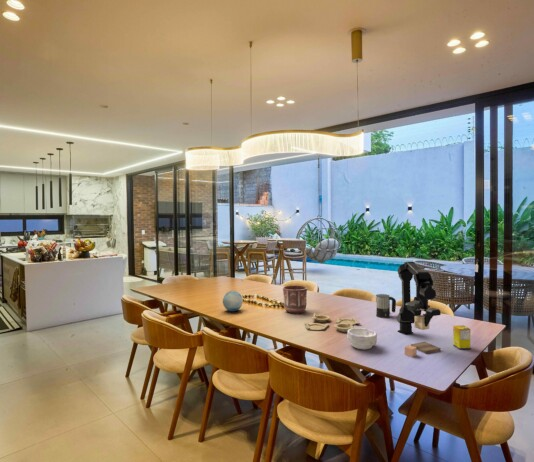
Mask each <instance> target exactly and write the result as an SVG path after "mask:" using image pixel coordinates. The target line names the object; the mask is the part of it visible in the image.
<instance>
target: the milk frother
mask: <svg viewBox="0 0 534 462" xmlns="http://www.w3.org/2000/svg"><path fill="white" fill-rule="evenodd" d="M375 296H376V297H375V298H376V305H375V306H376V311H375V312H376V313H375V314H376V315H375V316H376V317H377V318H381V319H382V318H383V319H388V318H391V317H390V314H391V312H392V313H396V307H397V301H396V300H397V299H396V298H394V297H393V296H390V295H389V294H385V293H379V294H378V293H377V294H375ZM390 301H391V304H390ZM390 305H391V306H390ZM390 309H391V310H390ZM390 311H391V312H390Z"/></svg>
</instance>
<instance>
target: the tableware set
mask: <svg viewBox="0 0 534 462" xmlns="http://www.w3.org/2000/svg"><path fill="white" fill-rule="evenodd" d="M311 319H312V320H315V321H316V322H315V323H314V322H313V323H311V322H304V323H303V324H304V325H305V327H304V328H305V329H307V330H310V331H322V330H326V329H327V327H329V326H330V323H327V321H328V320H330V319H331V316H329V315H325V314H317V313H316V312H314V313H313V316H311ZM322 323H325V324H322ZM357 324H358V325H359V324H361V322H360V321H358V320H357V319H356V317H352V318H344V317H343V318H341V317H338V318H337V319H336V321H335V324H334V325H333V326H334V328H335V329H337V330H338V331H339V332H341V333H347V331H348V330H349V329H352V328H355V327H354V326H355V325H357Z"/></svg>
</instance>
